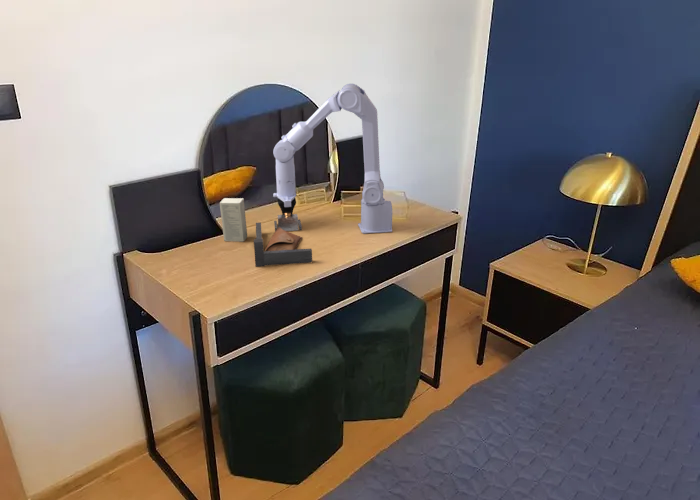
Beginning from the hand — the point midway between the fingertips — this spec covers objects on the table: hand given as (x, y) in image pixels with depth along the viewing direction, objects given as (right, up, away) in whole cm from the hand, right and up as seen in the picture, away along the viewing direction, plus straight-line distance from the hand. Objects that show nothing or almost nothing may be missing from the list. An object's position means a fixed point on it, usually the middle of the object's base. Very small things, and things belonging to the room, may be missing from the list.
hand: (287, 221), depth 178 cm
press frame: (-1, -7, -12) cm, 14 cm away
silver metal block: (0, -3, -2) cm, 3 cm away
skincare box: (-15, -6, -9) cm, 18 cm away
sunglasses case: (+1, -9, -15) cm, 18 cm away
